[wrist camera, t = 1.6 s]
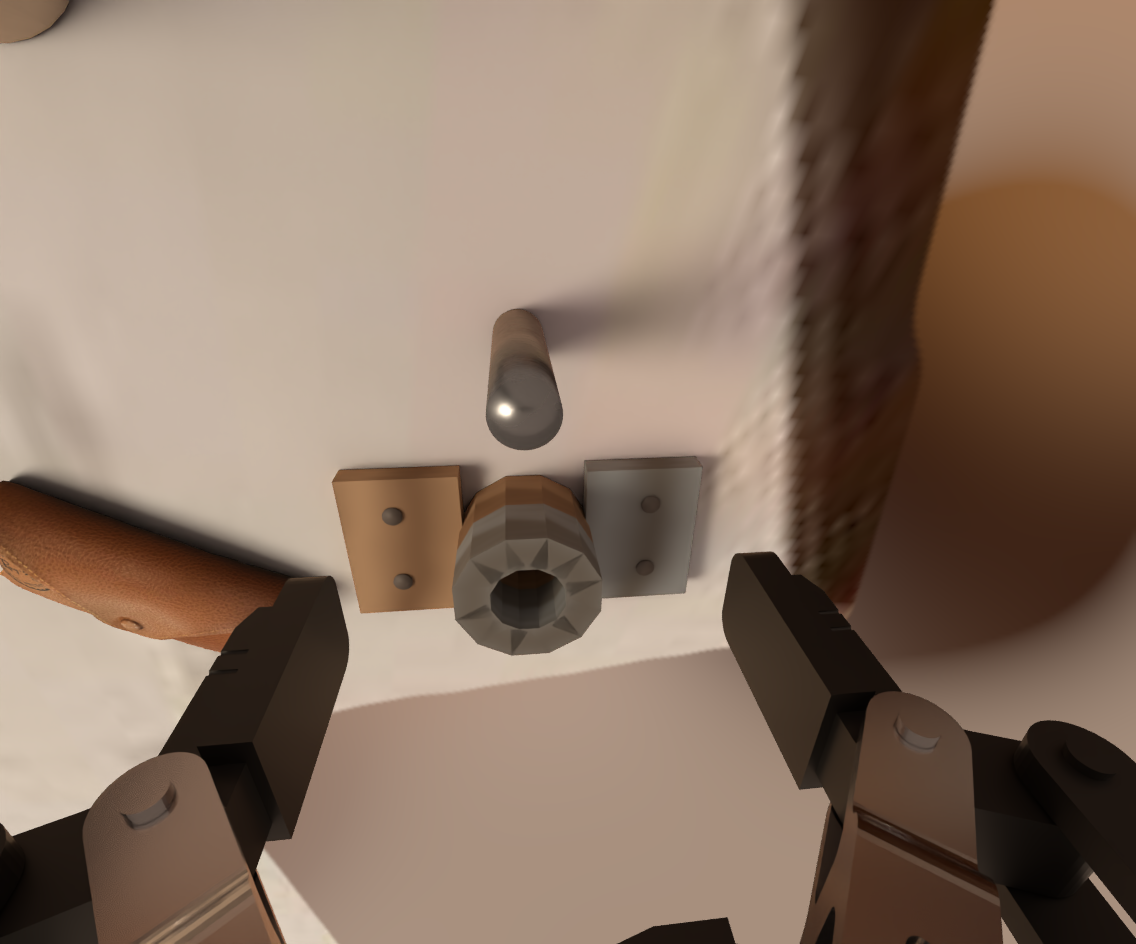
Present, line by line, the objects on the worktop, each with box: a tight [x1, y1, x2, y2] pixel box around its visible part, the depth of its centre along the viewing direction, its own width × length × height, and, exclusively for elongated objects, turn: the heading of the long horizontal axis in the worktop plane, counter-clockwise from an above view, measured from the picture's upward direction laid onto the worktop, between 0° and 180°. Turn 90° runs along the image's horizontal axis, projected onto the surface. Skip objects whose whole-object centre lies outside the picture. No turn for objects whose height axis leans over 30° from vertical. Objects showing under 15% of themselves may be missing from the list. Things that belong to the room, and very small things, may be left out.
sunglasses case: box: [0, 481, 291, 652], centre depth 34 cm, size 18×7×7 cm, turn 60°
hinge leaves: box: [332, 457, 703, 655], centre depth 34 cm, size 22×10×7 cm, turn 90°
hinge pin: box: [486, 309, 563, 450], centre depth 25 cm, size 3×3×12 cm
